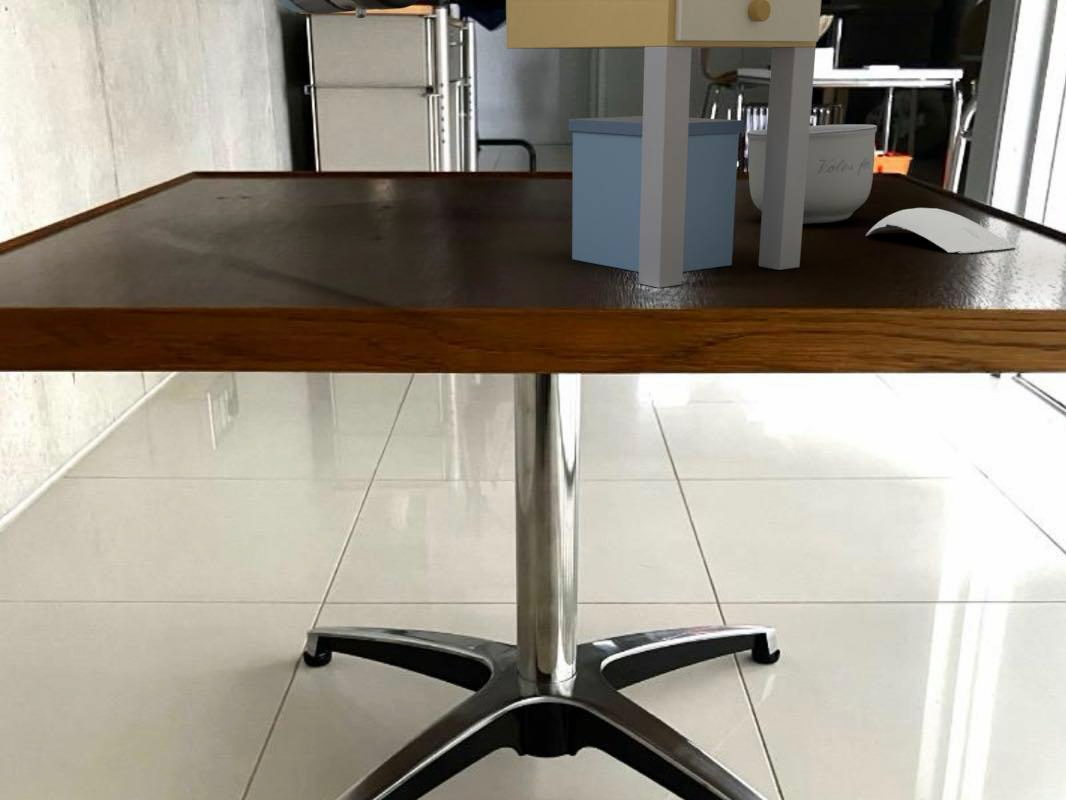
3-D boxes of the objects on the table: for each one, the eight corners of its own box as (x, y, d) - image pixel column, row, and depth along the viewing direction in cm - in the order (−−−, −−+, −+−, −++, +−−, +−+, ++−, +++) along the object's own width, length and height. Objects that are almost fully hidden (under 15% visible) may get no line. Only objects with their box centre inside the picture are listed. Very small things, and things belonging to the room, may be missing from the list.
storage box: (567, 259, 87) (568, 119, 84) (645, 249, 91) (648, 115, 88) (656, 276, 80) (661, 124, 77) (736, 265, 84) (744, 120, 81)
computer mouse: (957, 254, 88) (961, 221, 87) (850, 235, 98) (853, 205, 98) (1026, 248, 91) (1031, 216, 90) (915, 230, 101) (918, 201, 100)
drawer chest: (508, 257, 88) (504, -83, 80) (643, 241, 95) (652, -72, 87) (674, 291, 75) (689, -111, 67) (815, 270, 82) (844, -95, 74)
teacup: (831, 232, 100) (839, 129, 97) (718, 222, 106) (723, 125, 103) (905, 216, 110) (915, 123, 107) (798, 208, 116) (805, 119, 113)
